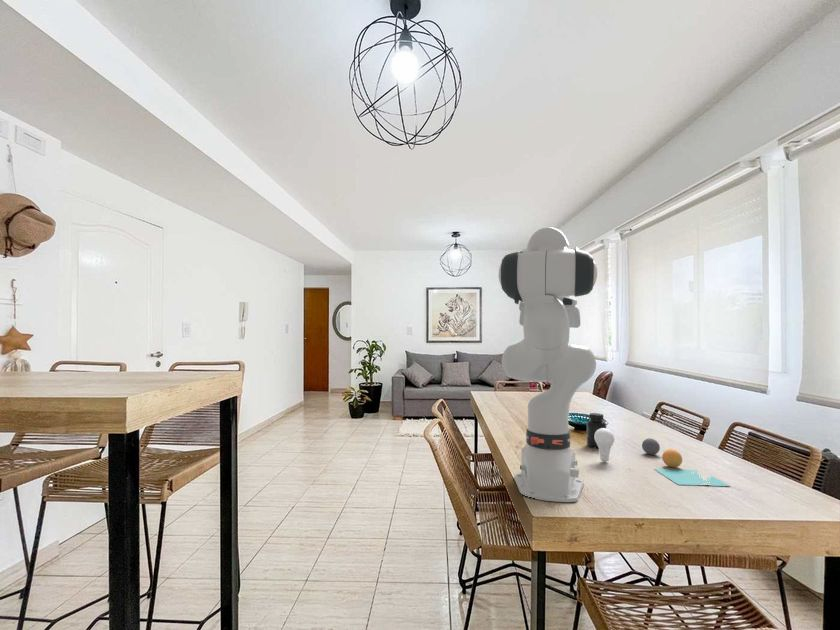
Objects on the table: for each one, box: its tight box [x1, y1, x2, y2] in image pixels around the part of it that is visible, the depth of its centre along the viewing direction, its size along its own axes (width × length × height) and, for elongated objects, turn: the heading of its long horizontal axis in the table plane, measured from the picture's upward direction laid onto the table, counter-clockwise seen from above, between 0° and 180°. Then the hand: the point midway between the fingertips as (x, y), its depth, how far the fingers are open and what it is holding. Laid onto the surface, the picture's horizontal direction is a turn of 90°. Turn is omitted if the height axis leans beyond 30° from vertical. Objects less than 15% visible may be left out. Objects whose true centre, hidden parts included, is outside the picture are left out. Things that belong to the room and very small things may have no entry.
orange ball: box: [661, 448, 683, 468], centre depth 134 cm, size 6×6×6 cm
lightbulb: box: [594, 427, 615, 463], centre depth 139 cm, size 6×6×11 cm
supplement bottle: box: [586, 412, 607, 449], centre depth 159 cm, size 7×7×12 cm
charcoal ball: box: [641, 438, 661, 456], centre depth 149 cm, size 6×6×6 cm
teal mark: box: [653, 468, 731, 487], centre depth 124 cm, size 14×14×1 cm
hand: (548, 339), depth 147 cm, fingers open, 8 cm apart
